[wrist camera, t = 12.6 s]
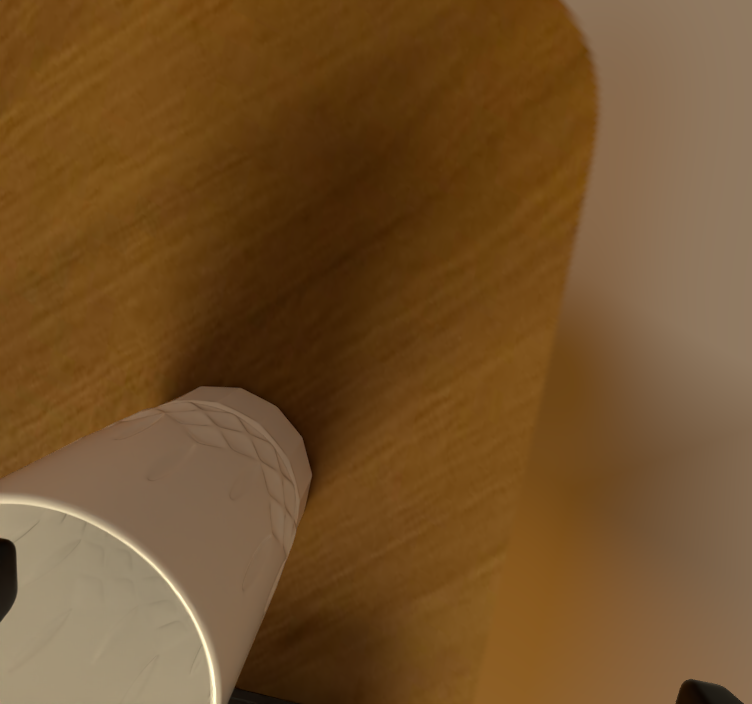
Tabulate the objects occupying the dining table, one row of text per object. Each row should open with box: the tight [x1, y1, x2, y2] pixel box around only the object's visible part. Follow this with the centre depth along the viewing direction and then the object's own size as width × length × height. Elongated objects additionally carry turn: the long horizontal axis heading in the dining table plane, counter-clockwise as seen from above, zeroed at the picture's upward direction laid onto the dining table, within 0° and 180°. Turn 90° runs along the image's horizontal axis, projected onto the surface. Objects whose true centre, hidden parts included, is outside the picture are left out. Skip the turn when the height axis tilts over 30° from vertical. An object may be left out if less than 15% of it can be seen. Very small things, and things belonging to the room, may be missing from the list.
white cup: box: [0, 386, 312, 704], centre depth 17 cm, size 8×8×10 cm
